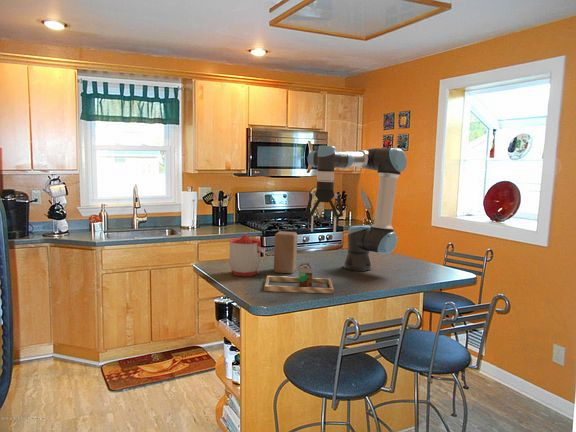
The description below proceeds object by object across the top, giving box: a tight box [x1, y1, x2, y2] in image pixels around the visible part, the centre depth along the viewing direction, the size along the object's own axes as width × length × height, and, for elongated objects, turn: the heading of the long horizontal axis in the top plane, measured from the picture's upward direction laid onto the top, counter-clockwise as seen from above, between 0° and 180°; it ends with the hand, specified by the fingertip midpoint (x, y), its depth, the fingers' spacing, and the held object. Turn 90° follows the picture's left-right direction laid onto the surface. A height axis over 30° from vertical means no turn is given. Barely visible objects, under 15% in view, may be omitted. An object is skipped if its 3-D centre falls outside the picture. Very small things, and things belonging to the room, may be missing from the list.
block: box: [273, 230, 298, 274], centre depth 230 cm, size 10×10×20 cm
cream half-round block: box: [296, 262, 314, 287], centre depth 203 cm, size 12×6×10 cm, turn 5°
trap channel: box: [263, 275, 335, 294], centre depth 203 cm, size 30×17×2 cm, turn 89°
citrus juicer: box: [229, 234, 265, 277], centre depth 221 cm, size 16×17×20 cm
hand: (323, 231), depth 200 cm, fingers open, 9 cm apart
